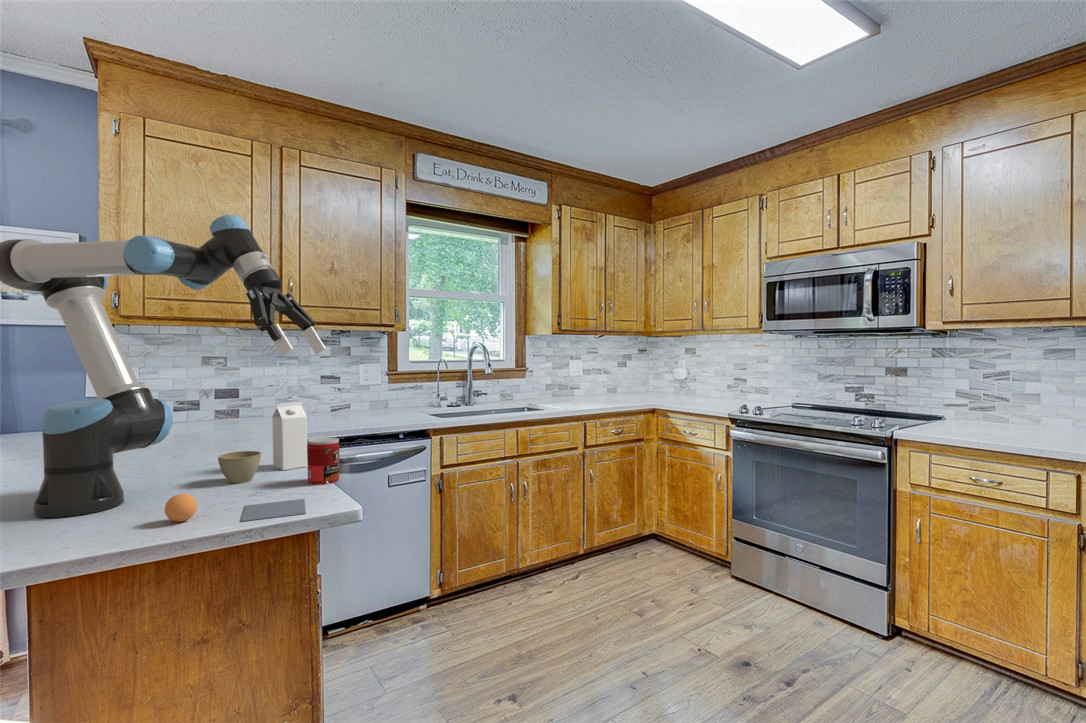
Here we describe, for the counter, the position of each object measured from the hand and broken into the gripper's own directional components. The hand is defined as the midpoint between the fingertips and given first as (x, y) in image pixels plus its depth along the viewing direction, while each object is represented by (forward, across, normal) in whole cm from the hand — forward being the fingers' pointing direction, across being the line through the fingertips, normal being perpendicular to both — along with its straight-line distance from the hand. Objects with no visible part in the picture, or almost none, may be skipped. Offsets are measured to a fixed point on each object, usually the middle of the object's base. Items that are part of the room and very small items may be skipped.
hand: (305, 352), depth 126 cm
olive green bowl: (+14, +13, +41) cm, 46 cm away
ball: (+18, -19, +30) cm, 40 cm away
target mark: (+28, -10, +20) cm, 35 cm away
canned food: (+26, +16, +23) cm, 38 cm away
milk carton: (+16, +30, +39) cm, 52 cm away
